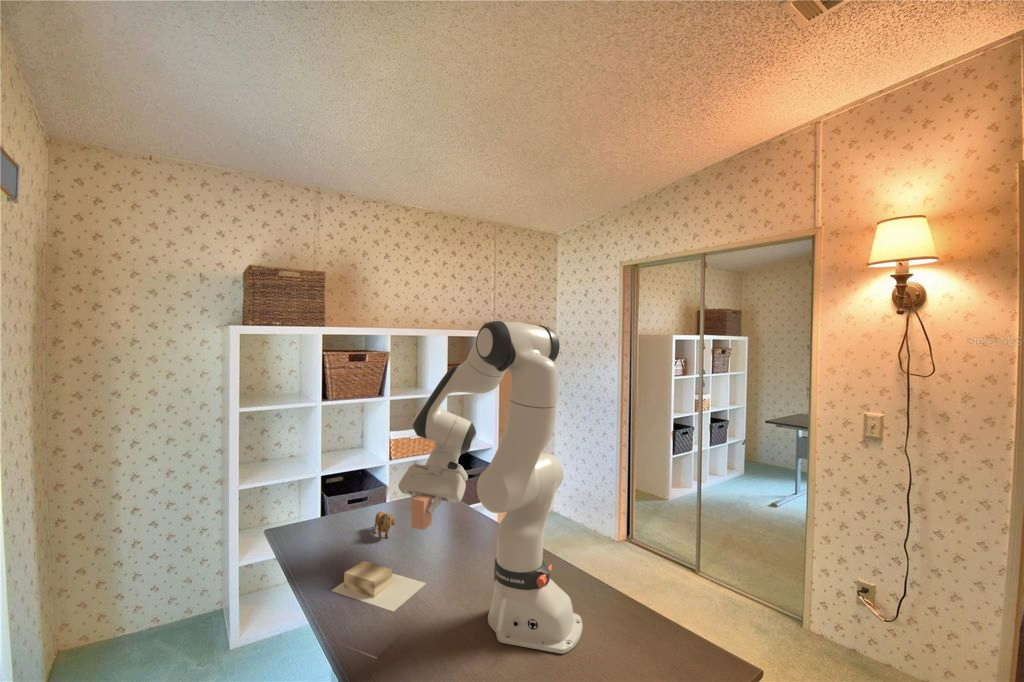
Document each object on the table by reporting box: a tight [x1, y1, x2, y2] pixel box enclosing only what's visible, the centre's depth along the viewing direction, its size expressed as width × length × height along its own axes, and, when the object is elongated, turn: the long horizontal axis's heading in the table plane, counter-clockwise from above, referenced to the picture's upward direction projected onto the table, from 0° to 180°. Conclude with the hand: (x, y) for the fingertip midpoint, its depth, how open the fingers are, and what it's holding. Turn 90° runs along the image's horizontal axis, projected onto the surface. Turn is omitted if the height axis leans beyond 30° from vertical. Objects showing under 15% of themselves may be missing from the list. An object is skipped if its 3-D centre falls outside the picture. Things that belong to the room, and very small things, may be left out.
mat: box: [330, 572, 427, 612], centre depth 121 cm, size 20×14×1 cm
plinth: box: [343, 560, 393, 597], centre depth 121 cm, size 10×7×4 cm
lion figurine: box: [372, 511, 398, 542], centre depth 152 cm, size 15×5×9 cm, turn 36°
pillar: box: [410, 495, 433, 531], centre depth 129 cm, size 4×4×8 cm
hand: (420, 511), depth 128 cm, fingers closed on pillar, 4 cm apart
